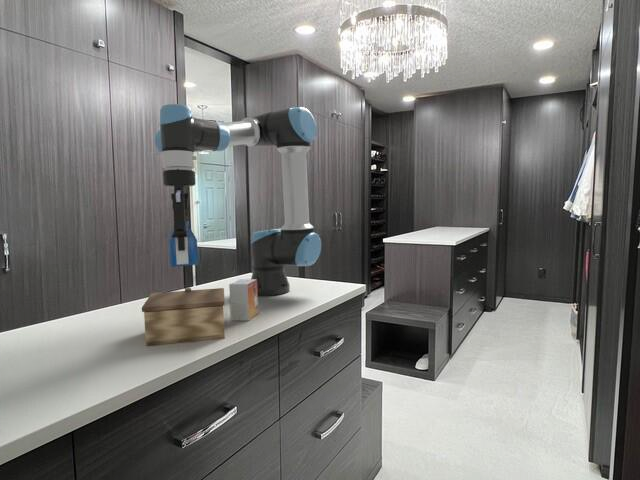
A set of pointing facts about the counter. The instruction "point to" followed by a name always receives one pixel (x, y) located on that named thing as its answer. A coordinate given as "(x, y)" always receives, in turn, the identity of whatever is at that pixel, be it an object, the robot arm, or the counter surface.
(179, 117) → the robot arm
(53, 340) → the counter surface
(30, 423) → the counter surface
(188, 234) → the perfume bottle
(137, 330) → the counter surface
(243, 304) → the small box
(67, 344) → the counter surface
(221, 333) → the box
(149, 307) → the lid
